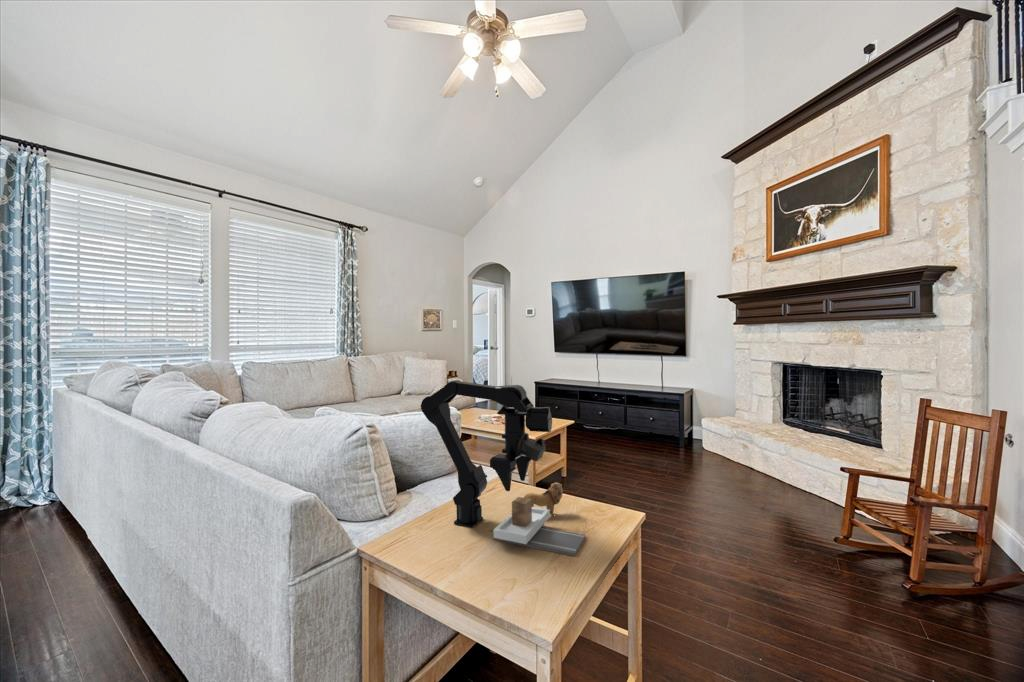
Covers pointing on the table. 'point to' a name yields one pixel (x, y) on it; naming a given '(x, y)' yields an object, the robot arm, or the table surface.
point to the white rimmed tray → (519, 532)
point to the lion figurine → (547, 497)
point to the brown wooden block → (521, 512)
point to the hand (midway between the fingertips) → (515, 485)
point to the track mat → (554, 541)
